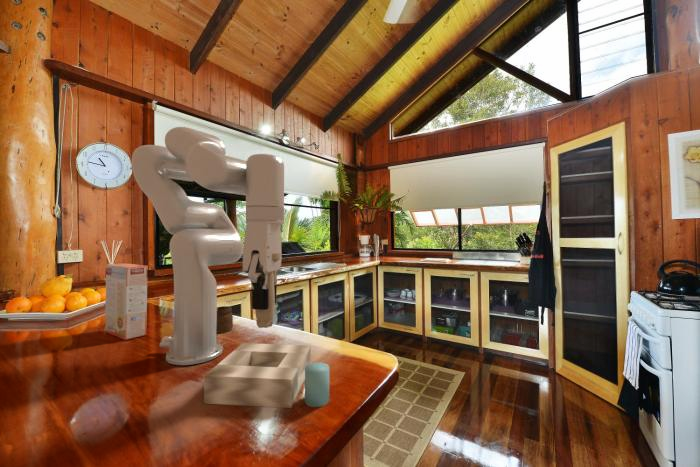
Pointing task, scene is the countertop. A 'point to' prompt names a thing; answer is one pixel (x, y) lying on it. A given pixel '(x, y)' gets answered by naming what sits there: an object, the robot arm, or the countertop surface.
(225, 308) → the utensil holder
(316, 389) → the short dowel
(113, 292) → the cracker box
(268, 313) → the handle
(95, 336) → the countertop surface
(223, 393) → the socket block
